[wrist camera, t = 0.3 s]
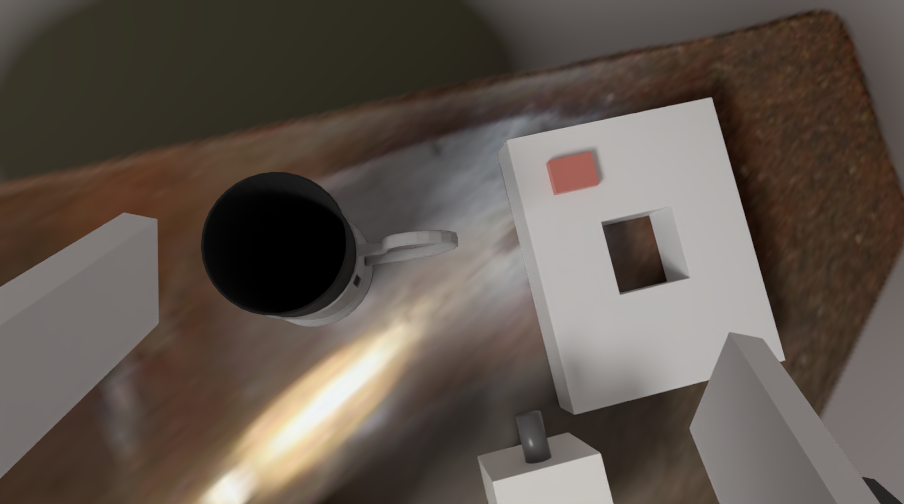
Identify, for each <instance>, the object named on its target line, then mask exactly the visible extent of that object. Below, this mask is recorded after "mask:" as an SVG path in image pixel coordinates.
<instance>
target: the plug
mask: <svg viewBox="0 0 904 504" xmlns="http://www.w3.org/2000/svg"><path fill="white" fill-rule="evenodd" d="M515 419H516V423H517V427H518V432H519V436H520V440H521V444H522V445H518V446H514V447H510V448H507V449H503V450H499V451H495V452H491V453H488V454H484V455H480V456H477V457H478V462H479V466H480V470H481V475H482V479H483V483H484V487H485V492H486V496H487V500H488V504H613V501H612V497H611V493H610V489H609V485H608V481H607V477H606V473H605V469H604V465H603V461H602V457H601V453H600V452H598V451H597V450H595V449H594V448H592V447H590V446H589V445H587V444H586V443H584V442H583V441H581V440H580V439H578V438H576V437H575V436H573V435H572V434H570V433H569V432H568V433H564V434H560V435H556V436H552V437H549V438H547V436H546V432H545V427H544V423H543V419H542V415H541V411H540V410H530V411H526V412H522V413H519V414H517V415H515Z"/></svg>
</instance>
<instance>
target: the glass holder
mask: <svg viewBox="0 0 904 504" xmlns="http://www.w3.org/2000/svg"><path fill="white" fill-rule="evenodd" d="M416 244H431V245H427V246H422V247H416V248H410V249H404V250H398V251H392V252H387V251H388V249H390V248H394V247H399V246H406V245H416ZM457 246H458V237H457V234H456V233H455V232H451V231H442V230H428V231H412V232H404V233H398V234H393V235H390V236H387V237H385V238H383V239H382V242H378V243H368V244H367V242H366V240H365V238H364V236H363V235H362V234H361V233H360V231H359V230H358V229H357V228H356V227H355V226H354V225H353V224H352V223H350V221H349V219H348V218H347V216H346V215H345V214H344V213H343V211H342V210H341V209H340V208H339V206H338V204H337V203H336V202H335V200H334V199H333V198H332V197H331V196H330V194H329V193H327V192H326V191H325V190H324V189H323V188H322V187H321V186H319V185H318V184H316V183H314V182H313V181H311V180H309V179H307V178H304V177H301V176H299V175H295V174H290V173H285V172H269V173H262V174H258V175H254V176H251V177H248V178H246V179H244V180H242V181H240V182H238V183H236V184H235V185H233V186H232V187H231V188H229V189H228V190H227V191H226V192H225V193H224V194H223V195H222V196H221V197H220V198H219V199H218V200H217V201H216V203H215V204H214V206H213V207H212V209H211V210H210V212H209V214H208V217H207V219H206V221H205V224H204V228H203V232H202V241H201V251H202V259H203V263H204V266H205V269H206V272H207V274H208V276H209V278H210V280H211V282H212V283H213V285H214V286H215V287H216V288H217V290H218V291H219V292H220V293H221V294H222V295H223V296H224V297H225V298H226V299H227V300H229V301H230V302H231V303H233V304H235V305H236V306H238V307H240V308H241V309H244V310H247V311H249V312H252V313H256V314H261V315H266V316H269V317H272V318H277V319H285V320H286V321H289V322H292V323H294V324H297V325H303V326H323V325H328V324H331V323H334V322H337V321H339V320H341V319H342V318H344V317H346V316H347V315H349V314H350V313H351V312H352V311H354V310H355V309H356V308H357V306H358V305H359V304H360V303H361V302H362V300H363V299H364V297H365V295H366V294H367V291H368V289H369V286H370V283H371V279H372V271H373V265H376V264H382V263H389V262H396V261H403V260H409V259H416V258H422V257H428V256H432V255H437V254H440V253H444V252H447V251H450V250H452V249H454V248H456V247H457Z"/></svg>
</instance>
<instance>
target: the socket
mask: <svg viewBox="0 0 904 504" xmlns="http://www.w3.org/2000/svg"><path fill="white" fill-rule="evenodd" d="M498 157H499V161H500V166H501V170H502V174H503V178H504V182H505V186H506V190H507V194H508V198H509V202H510V206H511V210H512V214H513V218H514V222H515V227H516V231H517V235H518V239H519V243H520V247H521V251H522V255H523V259H524V263H525V267H526V271H527V275H528V279H529V283H530V288H531V292H532V296H533V300H534V304H535V308H536V312H537V316H538V320H539V324H540V328H541V332H542V336H543V340H544V345H545V349H546V353H547V357H548V361H549V365H550V369H551V373H552V377H553V381H554V385H555V389H556V393H557V397H558V401H559V406H560V408H562V409H564V410H566V411H568V412H570V413H572V414H574V415H576V414H580V413H584V412H587V411H591V410H595V409H599V408H603V407H607V406H611V405H614V404H618V403H622V402H626V401H630V400H634V399H638V398H641V397H645V396H649V395H653V394H657V393H661V392H665V391H668V390H672V389H676V388H680V387H684V386H688V385H692V384H695V383H699V382H703V381H707V380H710V377H711V375H712V372H713V370H714V368H715V365H716V363H717V360H718V358H719V355H720V353H721V351H722V348H723V346H724V343H725V341H726V338H727V336H728V334H729V332H733V333H738V334H743V335H748V336H753V337H758V338H763V339H764V341H765V342H766V344H767V345H768V346H769V348H770V349H771V351H772V352H773V353H774V355H775V356H776V358H777V359H778V360H779V362H780V361H784V360H785V358H784V354H783V350H782V347H781V343H780V340H779V336H778V333H777V329H776V325H775V322H774V318H773V315H772V311H771V308H770V304H769V300H768V297H767V293H766V290H765V286H764V283H763V279H762V275H761V272H760V268H759V265H758V261H757V257H756V254H755V250H754V247H753V243H752V240H751V236H750V232H749V229H748V225H747V222H746V218H745V215H744V211H743V207H742V204H741V200H740V197H739V193H738V190H737V186H736V182H735V179H734V175H733V172H732V168H731V165H730V161H729V157H728V154H727V150H726V147H725V143H724V140H723V136H722V132H721V129H720V125H719V122H718V118H717V115H716V111H715V107H714V104H713V100H712V97H710V98H706V99H701V100H696V101H691V102H686V103H682V104H677V105H672V106H667V107H662V108H658V109H653V110H648V111H643V112H638V113H634V114H629V115H624V116H619V117H614V118H610V119H605V120H600V121H595V122H590V123H585V124H581V125H576V126H571V127H566V128H561V129H557V130H552V131H547V132H542V133H537V134H533V135H528V136H523V137H518V138H513V139H509V140H506V141H505V143H504V145H503V147H502V148H501V150H500V152H499V153H498ZM648 215H649V216H650V219H651V223H652V227H653V231H654V235H655V238H656V242H657V246H658V250H659V253H660V257H661V261H662V265H663V268H664V272H665V276H666V280H667V282H663V283H659V284H655V285H651V286H647V287H642V288H638V289H634V290H630V291H626V292H622V293H619V290H618V286H617V282H616V278H615V274H614V270H613V266H612V263H611V259H610V255H609V251H608V247H607V243H606V239H605V235H604V232H603V228H602V226H604V225H609V224H613V223H618V222H622V221H626V220H631V219H635V218H640V217H644V216H648Z"/></svg>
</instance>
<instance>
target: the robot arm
mask: <svg viewBox="0 0 904 504" xmlns="http://www.w3.org/2000/svg"><path fill="white" fill-rule="evenodd" d="M158 324H159V313H158V241H157V219H153V218H148V217H143V216H138V215H133V214H128V213H123V214H121V215H119V216H118V217H116V218H114V219H113V220H111V221H109V222H108V223H106V224H104V225H103V226H101V227H99V228H98V229H96V230H94V231H93V232H91V233H89V234H88V235H86V236H84V237H83V238H81V239H79V240H78V241H76V242H74V243H73V244H71V245H69V246H68V247H66V248H65V249H63V250H61V251H60V252H58V253H56V254H55V255H53V256H51V257H50V258H48V259H46V260H45V261H43V262H41V263H40V264H38V265H36V266H35V267H33V268H31V269H30V270H28V271H26V272H25V273H23V274H21V275H20V276H18V277H16V278H15V279H13V280H11V281H10V282H8V283H6V284H5V285H3V286H1V287H0V478H1V477H2V476H3V475H4V474H5V473H6V472H7V471H8V470H9V469H10V468H11V467H12V466H13V465H14V464H15V463H16V462H17V461H18V460H20V459H21V458H22V457H23V456H24V455H25V454H26V453H27V452H28V451H29V450H30V449H31V448H32V447H33V446H34V445H35V444H36V443H37V442H38V441H39V440H40V439H41V438H42V437H43V436H44V435H45V434H46V433H47V432H48V431H49V430H50V429H51V428H52V427H53V426H54V425H55V424H56V423H57V422H58V421H59V420H60V419H61V418H62V417H64V416H65V415H66V414H67V413H68V412H69V411H70V410H71V409H72V408H73V407H74V406H75V405H76V404H77V403H78V402H79V401H80V400H81V399H82V398H83V397H84V396H85V395H86V394H87V393H88V392H89V391H90V390H91V389H92V388H93V387H94V386H95V385H96V384H97V383H98V382H99V381H100V380H101V379H102V378H103V377H104V376H105V375H106V374H108V373H109V372H110V371H111V370H112V369H113V368H114V367H115V366H116V365H117V364H118V363H119V362H120V361H121V360H122V359H123V358H124V357H125V356H126V355H127V354H128V353H129V352H130V351H131V350H132V349H133V348H134V347H135V346H136V345H137V344H138V343H139V342H140V341H141V340H142V339H143V338H144V337H145V336H146V335H147V334H148V333H149V332H150V331H152V330H153V329H154V328H155V327H156V326H157V325H158ZM689 429H690V431H691V434H692V436H693V439H694V441H695V444H696V446H697V449H698V451H699V454H700V456H701V459H702V461H703V464H704V466H705V469H706V471H707V474H708V476H709V478H710V481H711V483H712V486H713V488H714V491H715V493H716V496H717V498H718V501H719V503H720V504H902V503H901V502H900V501H899V500H898V499H896V498H895V497H894V496H893V495H892V494H891V493H889V492H888V491H887V490H886V489H885V488H884V487H882V486H881V485H880V484H879V483H878V482H877V481H876V480H874V479H869V478H865V477H861V476H860V475H859V473H858V472H857V470H856V469H855V467H854V466H853V465H852V463H851V462H850V460H849V459H848V458H847V456H846V455H845V453H844V452H843V451H842V449H841V448H840V446H839V445H838V444H837V442H836V441H835V440H834V438H833V437H832V435H831V434H830V433H829V431H828V430H827V428H826V427H825V425H824V424H823V422H822V421H821V420H820V418H819V417H818V415H817V414H816V413H815V411H814V410H813V408H812V407H811V406H810V404H809V403H808V401H807V400H806V398H805V397H804V396H803V394H802V393H801V391H800V390H799V389H798V387H797V386H796V384H795V383H794V382H793V380H792V379H791V377H790V376H789V375H788V373H787V372H786V370H785V369H784V368H783V366H782V365H781V363H780V362H779V360H778V359H777V358H776V356H775V355H774V353H773V352H772V351H771V349H770V348H769V346H768V345H767V344H766V342H765V341H764V339H763V338H758V337H753V336H748V335H743V334H738V333H733V332H729V334H728V336H727V338H726V341H725V343H724V346H723V348H722V351H721V353H720V355H719V358H718V360H717V363H716V365H715V368H714V370H713V372H712V375H711V377H710V380H709V382H708V385H707V387H706V389H705V392H704V394H703V397H702V399H701V401H700V404H699V406H698V409H697V411H696V414H695V416H694V418H693V421H692V423H691V426H690V428H689Z"/></svg>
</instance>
